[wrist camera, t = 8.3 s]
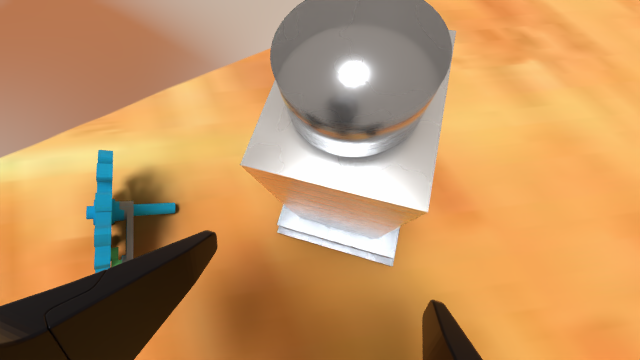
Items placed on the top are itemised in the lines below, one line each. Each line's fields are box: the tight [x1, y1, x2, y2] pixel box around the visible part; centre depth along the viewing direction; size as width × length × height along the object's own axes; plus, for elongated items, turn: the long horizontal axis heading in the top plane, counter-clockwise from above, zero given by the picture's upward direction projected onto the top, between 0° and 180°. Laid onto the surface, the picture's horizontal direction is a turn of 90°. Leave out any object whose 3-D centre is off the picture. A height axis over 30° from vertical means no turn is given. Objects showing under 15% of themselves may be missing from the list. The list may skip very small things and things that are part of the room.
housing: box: [240, 0, 456, 239], centre depth 12 cm, size 7×6×13 cm
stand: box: [277, 205, 400, 266], centre depth 20 cm, size 10×10×3 cm
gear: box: [86, 150, 175, 273], centre depth 20 cm, size 11×6×10 cm
